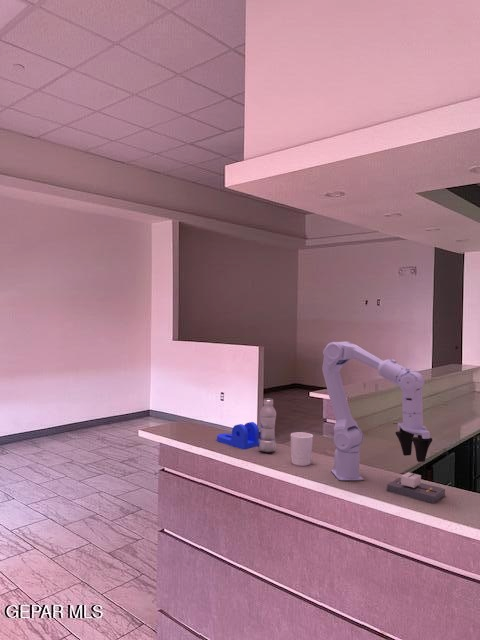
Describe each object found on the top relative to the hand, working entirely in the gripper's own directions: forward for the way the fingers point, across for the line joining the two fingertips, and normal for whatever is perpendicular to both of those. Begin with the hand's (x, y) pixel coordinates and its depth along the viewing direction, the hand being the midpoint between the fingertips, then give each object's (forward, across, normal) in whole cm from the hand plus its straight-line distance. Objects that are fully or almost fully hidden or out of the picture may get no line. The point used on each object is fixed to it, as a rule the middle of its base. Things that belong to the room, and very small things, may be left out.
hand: (413, 458), depth 146 cm
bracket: (+6, +62, +43) cm, 75 cm away
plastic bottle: (+7, +48, +33) cm, 59 cm away
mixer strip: (+10, 0, 0) cm, 11 cm away
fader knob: (+8, +1, 0) cm, 8 cm away
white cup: (+8, +33, +24) cm, 42 cm away
